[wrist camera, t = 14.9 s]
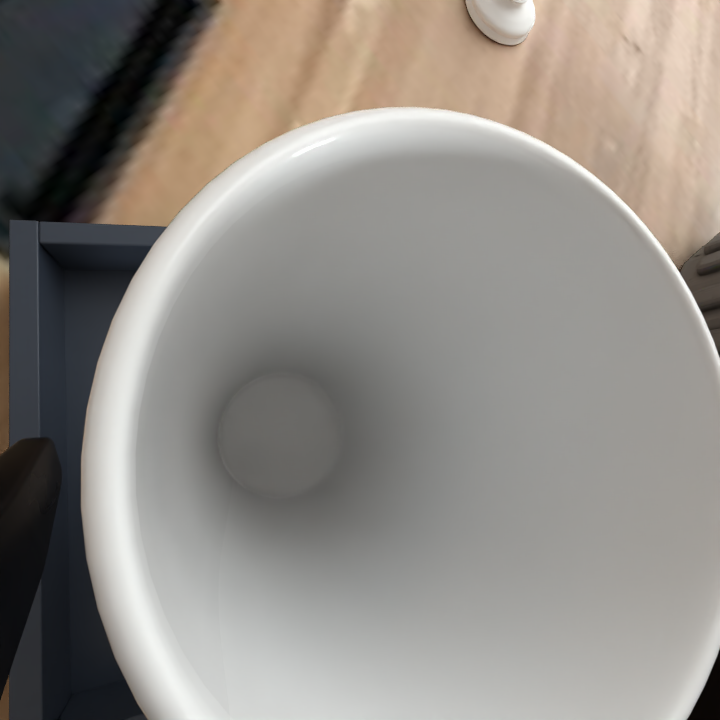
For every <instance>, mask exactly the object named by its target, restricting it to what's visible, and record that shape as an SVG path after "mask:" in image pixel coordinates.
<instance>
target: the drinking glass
mask: <svg viewBox="0 0 720 720" xmlns="http://www.w3.org/2000/svg"><path fill="white" fill-rule="evenodd" d="M81 515H82V525H83V534H84V543H85V553H86V560H87V565H88V569H89V574H90V578H91V582H92V587H93V591H94V596H95V600H96V605H97V609H98V612H99V615H100V618H101V620H102V623H103V626H104V629H105V632H106V635H107V638H108V640H109V643H110V646H111V649H112V652H113V655H114V657H115V659H116V661H117V664H118V666H119V668H120V670H121V672H122V674H123V676H124V678H125V680H126V682H127V684H128V686H129V688H130V690H131V692H132V694H133V696H134V698H135V700H136V702H137V704H138V706H139V707H140V709H141V710H142V712H143V713H144V715H145V716H146V718H147V719H148V720H687V719H688V717H689V716H690V714H691V712H692V710H693V708H694V706H695V704H696V702H697V700H698V698H699V697H700V695H701V693H702V691H703V689H704V687H705V685H706V682H707V680H708V677H709V675H710V673H711V670H712V668H713V665H714V663H715V661H716V658H717V656H718V652H719V649H720V357H719V354H718V352H717V349H716V346H715V343H714V340H713V338H712V336H711V333H710V331H709V329H708V326H707V324H706V322H705V319H704V317H703V315H702V313H701V311H700V309H699V307H698V305H697V303H696V301H695V299H694V297H693V295H692V293H691V291H690V289H689V288H688V286H687V284H686V282H685V281H684V279H683V277H682V276H681V274H680V272H679V270H678V269H677V267H676V266H675V264H674V263H673V261H672V260H671V258H670V257H669V256H668V254H667V253H666V251H665V250H664V248H663V247H662V245H661V244H660V243H659V242H658V240H657V239H656V238H655V236H654V235H653V234H652V233H651V231H650V230H649V229H648V227H647V226H646V225H645V224H644V223H643V222H642V221H641V220H640V218H639V217H638V216H637V215H636V214H635V213H634V212H633V211H632V209H631V208H630V207H629V206H628V205H627V204H626V203H625V202H624V201H623V200H621V199H620V198H619V197H618V196H617V195H616V194H615V193H614V192H613V191H612V190H611V189H610V188H609V187H608V186H606V185H605V184H604V183H603V182H602V181H600V180H599V179H598V178H597V177H596V176H594V175H593V174H592V173H591V172H589V171H588V170H587V169H585V168H584V167H582V166H581V165H580V164H578V163H577V162H575V161H574V160H573V159H571V158H570V157H568V156H567V155H565V154H563V153H562V152H560V151H558V150H557V149H555V148H553V147H552V146H550V145H548V144H546V143H545V142H543V141H540V140H538V139H536V138H534V137H532V136H530V135H528V134H526V133H524V132H522V131H519V130H517V129H514V128H512V127H509V126H506V125H504V124H501V123H499V122H496V121H492V120H489V119H485V118H482V117H478V116H475V115H471V114H466V113H461V112H456V111H450V110H445V109H435V108H423V107H383V108H374V109H366V110H358V111H352V112H348V113H344V114H340V115H335V116H331V117H327V118H323V119H320V120H318V121H315V122H312V123H309V124H306V125H303V126H301V127H298V128H295V129H293V130H291V131H289V132H286V133H284V134H282V135H280V136H278V137H276V138H274V139H272V140H270V141H268V142H266V143H264V144H262V145H261V146H259V147H258V148H256V149H254V150H253V151H251V152H250V153H248V154H246V155H245V156H243V157H242V158H240V159H239V160H237V161H235V162H234V163H233V164H231V165H230V166H229V167H228V168H226V169H225V170H224V171H223V172H221V173H220V174H219V175H218V176H216V177H215V178H214V179H213V180H211V181H210V182H209V183H208V184H206V185H205V186H204V187H203V188H202V189H201V190H200V191H199V192H198V193H197V194H196V195H195V196H194V197H193V198H192V199H191V200H190V201H189V202H188V203H187V204H186V205H185V206H184V207H183V208H182V209H181V210H180V211H179V213H178V214H177V215H176V216H175V218H174V219H173V220H172V221H171V223H170V224H169V225H168V226H167V228H166V229H165V230H164V231H163V233H162V234H161V235H160V237H159V238H158V239H157V240H156V242H155V243H154V244H153V246H152V247H151V249H150V251H149V252H148V254H147V255H146V257H145V259H144V260H143V262H142V263H141V265H140V267H139V268H138V270H137V271H136V273H135V275H134V276H133V278H132V279H131V281H130V284H129V286H128V288H127V290H126V292H125V294H124V296H123V298H122V300H121V302H120V304H119V306H118V309H117V311H116V313H115V315H114V317H113V319H112V322H111V325H110V327H109V330H108V333H107V336H106V339H105V342H104V345H103V347H102V350H101V353H100V356H99V359H98V362H97V366H96V370H95V374H94V379H93V383H92V387H91V392H90V396H89V400H88V405H87V409H86V418H85V427H84V435H83V444H82V452H81Z"/></svg>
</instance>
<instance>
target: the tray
mask: <svg viewBox="0 0 720 720" xmlns="http://www.w3.org/2000/svg"><path fill="white" fill-rule="evenodd" d="M166 228H167V227H160V226H136V225H111V224H87V223H62V222H40V223H39V222H38V221H24V220H10V221H9V448H10V447H11V446H12V445H13V444H15V443H16V442H17V441H19V440H21V439H24V438H36V437H49V438H51V439H52V440H53V442H54V444H55V447H56V451H57V454H58V457H59V461H60V464H61V467H62V484H61V489H60V494H59V499H58V504H57V509H56V514H55V519H54V524H53V529H52V534H51V539H50V544H49V549H48V553H47V558H46V562H45V567H44V570H43V573H42V577H41V580H40V583H39V586H38V589H37V592H36V595H35V598H34V601H33V604H32V607H31V610H30V613H29V616H28V619H27V622H26V625H25V628H24V631H23V634H22V637H21V640H20V643H19V646H18V649H17V652H16V655H15V658H14V661H13V664H12V667H11V670H10V673H9V720H148V719H147V718H146V716H145V715H144V713H143V712H142V710H141V709H140V707H139V706H138V704H137V702H136V700H135V698H134V696H133V694H132V692H131V690H130V688H129V686H128V684H127V682H126V680H125V678H124V676H123V674H122V672H121V670H120V668H119V666H118V664H117V661H116V659H115V657H114V655H113V652H112V649H111V646H110V643H109V640H108V638H107V635H106V632H105V629H104V626H103V623H102V620H101V618H100V615H99V612H98V609H97V605H96V600H95V596H94V591H93V587H92V582H91V578H90V574H89V569H88V565H87V560H86V553H85V543H84V534H83V525H82V515H81V452H82V444H83V435H84V427H85V418H86V409H87V405H88V400H89V396H90V392H91V387H92V383H93V379H94V374H95V370H96V366H97V362H98V359H99V356H100V353H101V350H102V347H103V345H104V342H105V339H106V336H107V333H108V330H109V327H110V325H111V322H112V319H113V317H114V315H115V313H116V311H117V309H118V306H119V304H120V302H121V300H122V298H123V296H124V294H125V292H126V290H127V288H128V286H129V284H130V281H131V279H132V278H133V276H134V275H135V273H136V271H137V270H138V268H139V267H140V265H141V263H142V262H143V260H144V259H145V257H146V255H147V254H148V252H149V251H150V249H151V247H152V246H153V244H154V243H155V242H156V240H157V239H158V238H159V237H160V235H161V234H162V233H163V231H164V230H165V229H166Z"/></svg>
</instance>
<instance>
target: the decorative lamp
mask: <svg viewBox="0 0 720 720" xmlns="http://www.w3.org/2000/svg"><path fill="white" fill-rule="evenodd" d="M680 274H681V276H682V277H683V279H684V281H685V282H686V284H687V286H688V288H689V289H690V291H691V293H692V295H693V297H694V299H695V301H696V303H697V305H698V307H699V309H700V311H701V313H702V315H703V317H704V319H705V322H706V324H707V326H708V329H709V331H710V333H711V336H712V338H713V340H714V343H715V346H716V349H717V352H718V354H719V357H720V232H719V233H718V234H717V235H716V236H715V237H714V238H713V239H712V240H711V241H709V242H708V243H707V244H706V245H705V246H703V247H702V248H701V249H700V250H698V251H697V252H696V253H695V254H694V255H693V256H692V257H691V258H690V259H689V260H688V261H686V262H685V263H684V265H683V267H682V270H681V272H680Z"/></svg>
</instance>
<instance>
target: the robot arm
mask: <svg viewBox="0 0 720 720" xmlns="http://www.w3.org/2000/svg"><path fill="white" fill-rule="evenodd" d="M61 484H62V467H61V464H60V461H59V457H58V454H57V451H56V447H55V444H54V442H53V440H52V439H51V438H49V437H36V438H24V439H21V440H19V441H17V442H16V443H15V444H13V445H12V446H11V447H10V448H8V449H7V450H6V451H5V452H3V453H2V454H1V455H0V699H1V696H2V694H3V691H4V688H5V685H6V682H7V679H8V676H9V673H10V670H11V667H12V664H13V661H14V658H15V655H16V652H17V649H18V646H19V643H20V640H21V637H22V634H23V631H24V628H25V625H26V622H27V619H28V616H29V613H30V610H31V607H32V604H33V601H34V598H35V595H36V592H37V589H38V586H39V583H40V580H41V577H42V573H43V570H44V567H45V562H46V558H47V553H48V549H49V544H50V539H51V534H52V529H53V524H54V519H55V514H56V509H57V504H58V499H59V494H60V489H61ZM687 720H720V649H719V652H718V656H717V658H716V661H715V663H714V665H713V668H712V670H711V673H710V675H709V677H708V680H707V682H706V685H705V687H704V689H703V691H702V693H701V695H700V697H699V698H698V700H697V702H696V704H695V706H694V708H693V710H692V712H691V714H690V716H689V717H688V719H687Z"/></svg>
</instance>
